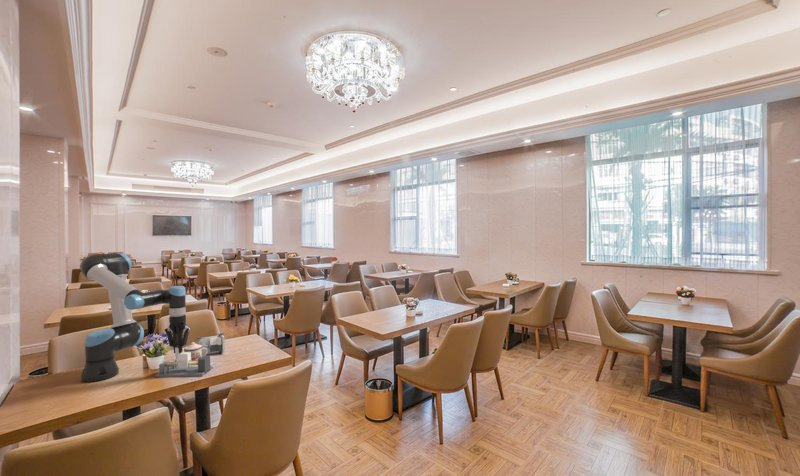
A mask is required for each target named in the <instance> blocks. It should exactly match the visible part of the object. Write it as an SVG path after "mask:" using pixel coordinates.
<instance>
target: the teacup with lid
mask: <svg viewBox="0 0 800 476" xmlns="http://www.w3.org/2000/svg"><path fill="white" fill-rule="evenodd" d="M195 343H196V342H194V341H193V342H191V343H190V344H188V345H185V347H184V348H183V352H191V362H193V361H198V359H199V358H201V357H202V356H207V355H208V354H207V349H206V348H202V346H201V345H199V344H195ZM202 349H205V350H206V352H205V354H203V355H202V352H201V350H202Z"/></svg>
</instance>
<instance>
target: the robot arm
mask: <svg viewBox="0 0 800 476" xmlns="http://www.w3.org/2000/svg"><path fill="white" fill-rule="evenodd" d="M131 270H132V260H131V258H130V257H129V256H128V255H126V253H121V252H118V253H117V252H110V253H96V254H95V253H94V254H90V255H88V256H86V257H85V258H83V260H82V261H81V263H80V272H81V273H82V275H83V276H84V277H85V278H86V279H87V280H90V281H95V282H97V283H98V284H99V285H100V286H102V287H104V288H105V289H107V294H108V299H109V300H108V301H109V304H110V309H111V316H112V322H113V324H112V325H111V327H110V328H103V329H98V330H95V331H93V332H90V333H89V334H87V335H86V337H85V339H84V340H85V342H84V346H85V347H84V354H85V357H84V358H85V364H84V367H83V369H82V373H81V375H80V381H81V382H87V383H89V382H98V381H103V380H107V379H110V378H113V377H115V376H117V375H118V374H119V373H120V368H119V367H118V364H117V361H116V359H115V353H116V352H119V351H123V350H125V349H129V348H132V347H134V346H137V345H139V344H140V343H141V342H142V341H143V339H144V336H145V331H144V328H143V327H142V325H140V324H138V321H137V320H135V319H134V318H133V313H132V311H133V310H140V309H143V308H148V307H153V306H158V305H164V304H165V305H168V312H169V313H168V314H169V317H168V319H169V320H168V321H169V325H168V327H166V328H165V329H164V332H165V333H166V336H167V337H166V338H167V340H168V345H169V347H172V348H173V353H174V354H175V355H174V356H175V357H174V359H175V360H177V361H178V354H179V353H182V352H184V349H183V347H184V346H187V343H188V339H189V334H190V331H191V330H192V328H191V327H190V326H189V327H188V326H187V323H186V322H187V319H186V318H187V317H186V316H187V315H186V314H187V309H186V304H187V303H186V296H187V295H186V294H187V293H186V287H185V286H184V285H174V286H170V287H169V288H168V289H162V288H161V289H153V290H151V291H146V292H142V291H141V290H140V289H138V288H136V287H135V286H133V285H132V284H130V283H129V282H127V280H126V278H127V276H128V275H129V272H130V271H131ZM175 360H174V361H175Z"/></svg>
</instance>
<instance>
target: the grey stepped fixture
mask: <svg viewBox="0 0 800 476" xmlns="http://www.w3.org/2000/svg"><path fill="white" fill-rule="evenodd" d="M188 365H191V366H190V367H189V368H183V369H178V360H174V361H169V360H166V361H162V362H161V363H160V364H159V365H158V367H159V369H158V373H156V374H155V378H178V377H179V378H180V377H181V378H182V377H189V378H190V377H191V378H192V377H203V376H205V375H206V374H208V373H209V372H210V371H211V370H213V369H214V366H212V365H211V355H205V356H202V357H201V358H199V359H198V361H193V362H188Z"/></svg>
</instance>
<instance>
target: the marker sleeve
mask: <svg viewBox="0 0 800 476" xmlns="http://www.w3.org/2000/svg"><path fill="white" fill-rule="evenodd" d="M177 362H178V365H177V367H178V369H183V368H189V367H192V365H188V362H191V352H184V351H182V353H179V354H178V360H177Z"/></svg>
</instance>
